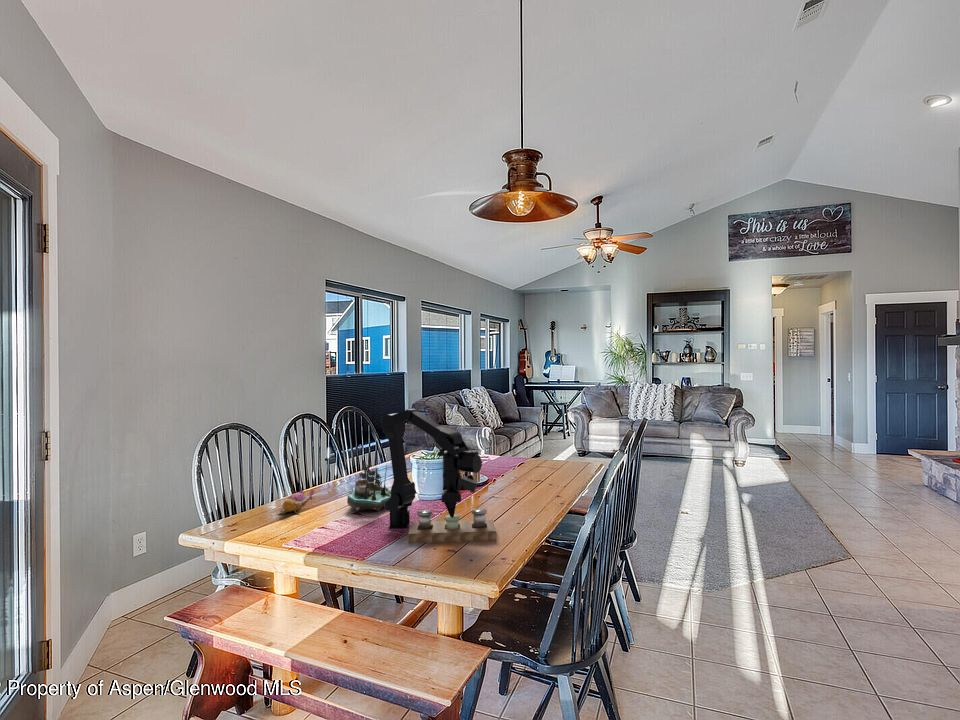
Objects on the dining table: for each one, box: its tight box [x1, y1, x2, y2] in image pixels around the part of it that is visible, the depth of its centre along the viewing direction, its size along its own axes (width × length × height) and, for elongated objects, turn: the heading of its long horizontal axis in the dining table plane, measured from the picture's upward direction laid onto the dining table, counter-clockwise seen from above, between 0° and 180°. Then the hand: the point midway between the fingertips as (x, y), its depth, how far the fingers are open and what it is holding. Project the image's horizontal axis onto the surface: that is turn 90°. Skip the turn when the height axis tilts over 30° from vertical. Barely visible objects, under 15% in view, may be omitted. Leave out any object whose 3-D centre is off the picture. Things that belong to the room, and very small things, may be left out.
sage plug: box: [444, 514, 461, 529], centre depth 176 cm, size 5×5×5 cm
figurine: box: [277, 489, 315, 516], centre depth 213 cm, size 12×7×30 cm
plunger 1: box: [416, 509, 433, 528], centre depth 175 cm, size 5×5×5 cm
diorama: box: [346, 463, 391, 512], centre depth 213 cm, size 19×25×19 cm
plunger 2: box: [471, 507, 488, 526], centre depth 176 cm, size 5×5×5 cm
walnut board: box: [407, 519, 497, 544], centre depth 176 cm, size 28×12×3 cm, turn 92°
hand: (452, 516), depth 176 cm, fingers closed, pressing on sage plug
